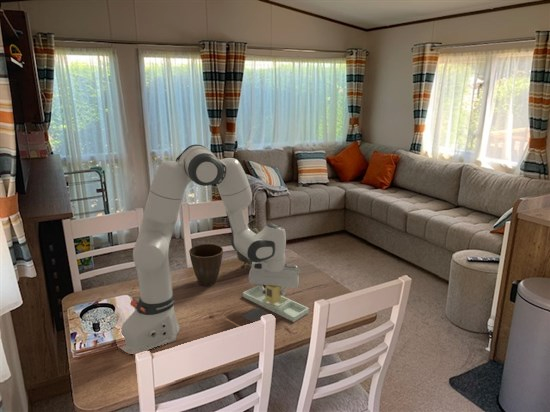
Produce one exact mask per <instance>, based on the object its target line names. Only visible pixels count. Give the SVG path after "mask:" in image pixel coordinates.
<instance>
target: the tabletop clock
mask: <svg viewBox="0 0 550 412" xmlns="http://www.w3.org/2000/svg"><path fill="white" fill-rule="evenodd" d="M253 221H257V223H256V224H252V226H249V225H250V223H252V222H253ZM259 223H260V222H259V220H258V219H257V218H253V219H250V220H249V221H248V223H247V226H248V228H249V229H250V230H251V231H253V232H254V233H255V234H258V233H259V232H260V230H258V228H257V226H258V225H259ZM236 256H237V260H238V261H240V262H243V264H242V265H241V266H240V269H241V270H243V269H244V268H245V267H244V266H245V265H246V264H247V265H252V261H250V260H249V259H248V258H246V257H245V256H244V255H242V254H241V253H239V252H238V251H236Z"/></svg>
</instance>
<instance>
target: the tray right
mask: <svg viewBox="0 0 550 412" xmlns="http://www.w3.org/2000/svg"><path fill="white" fill-rule="evenodd" d="M309 313H310V308H309V307H308V306H306V305H303V304H302V303H298V302H297V301H294V300H292V299H290V301H288V302H287V303H285V304H283V305H282V306H280V307H278V308H276V313H275V314H277V315H278V316H281V317H282V318H284V319H287V320H288V321H290V322H293V323H296V322H297V321H298V320H300V319H302V318H303V317H305V316H306V315H307V314H309Z"/></svg>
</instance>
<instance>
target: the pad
mask: <svg viewBox="0 0 550 412" xmlns="http://www.w3.org/2000/svg"><path fill="white" fill-rule="evenodd" d="M266 314H271V313H270V312H268V311H266V310H264V309H262V308H260V307H255V308H254V309H252V310H250V311H248V312H246V313H244V314H242V315H241V318H243V319H245V320H247V321H248V322H251V323H253V322H255V321H258V320H260V317H261V316H262V315H266Z"/></svg>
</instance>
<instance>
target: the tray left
mask: <svg viewBox="0 0 550 412" xmlns="http://www.w3.org/2000/svg"><path fill="white" fill-rule="evenodd" d="M264 289H266V287H264ZM264 297H265V294H262V290H261V288H260V287H259V284H256V285H255V286H253V287H251V288H249V289H247V290H244V291H243V292H242V298H244V299H246V300H249V301H251V302H252V303H255V304H256V305H259V300H260V299H262V298H264Z"/></svg>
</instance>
